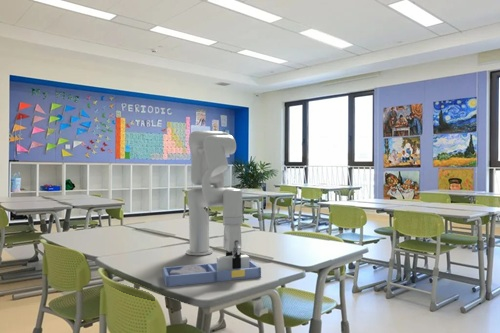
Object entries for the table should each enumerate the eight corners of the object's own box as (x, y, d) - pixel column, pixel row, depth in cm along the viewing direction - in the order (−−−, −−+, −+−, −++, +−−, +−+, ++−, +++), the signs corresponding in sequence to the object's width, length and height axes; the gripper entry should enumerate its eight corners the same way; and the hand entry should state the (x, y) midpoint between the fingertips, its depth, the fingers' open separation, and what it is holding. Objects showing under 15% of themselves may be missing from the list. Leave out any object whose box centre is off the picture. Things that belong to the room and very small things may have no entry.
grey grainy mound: (209, 281, 145) (191, 272, 151) (210, 269, 144) (192, 261, 151) (184, 290, 136) (167, 280, 142) (186, 277, 135) (168, 268, 142)
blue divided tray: (162, 276, 147) (162, 267, 147) (250, 268, 158) (250, 259, 158) (166, 287, 134) (166, 276, 134) (261, 277, 145) (261, 267, 145)
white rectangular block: (216, 275, 149) (216, 256, 149) (246, 272, 153) (246, 254, 153) (219, 277, 145) (218, 259, 145) (249, 274, 149) (249, 256, 149)
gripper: (218, 218, 156) (218, 261, 156) (229, 224, 139) (229, 272, 139) (236, 217, 158) (236, 259, 158) (248, 223, 142) (249, 270, 142)
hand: (233, 265), depth 149 cm, fingers open, 9 cm apart
